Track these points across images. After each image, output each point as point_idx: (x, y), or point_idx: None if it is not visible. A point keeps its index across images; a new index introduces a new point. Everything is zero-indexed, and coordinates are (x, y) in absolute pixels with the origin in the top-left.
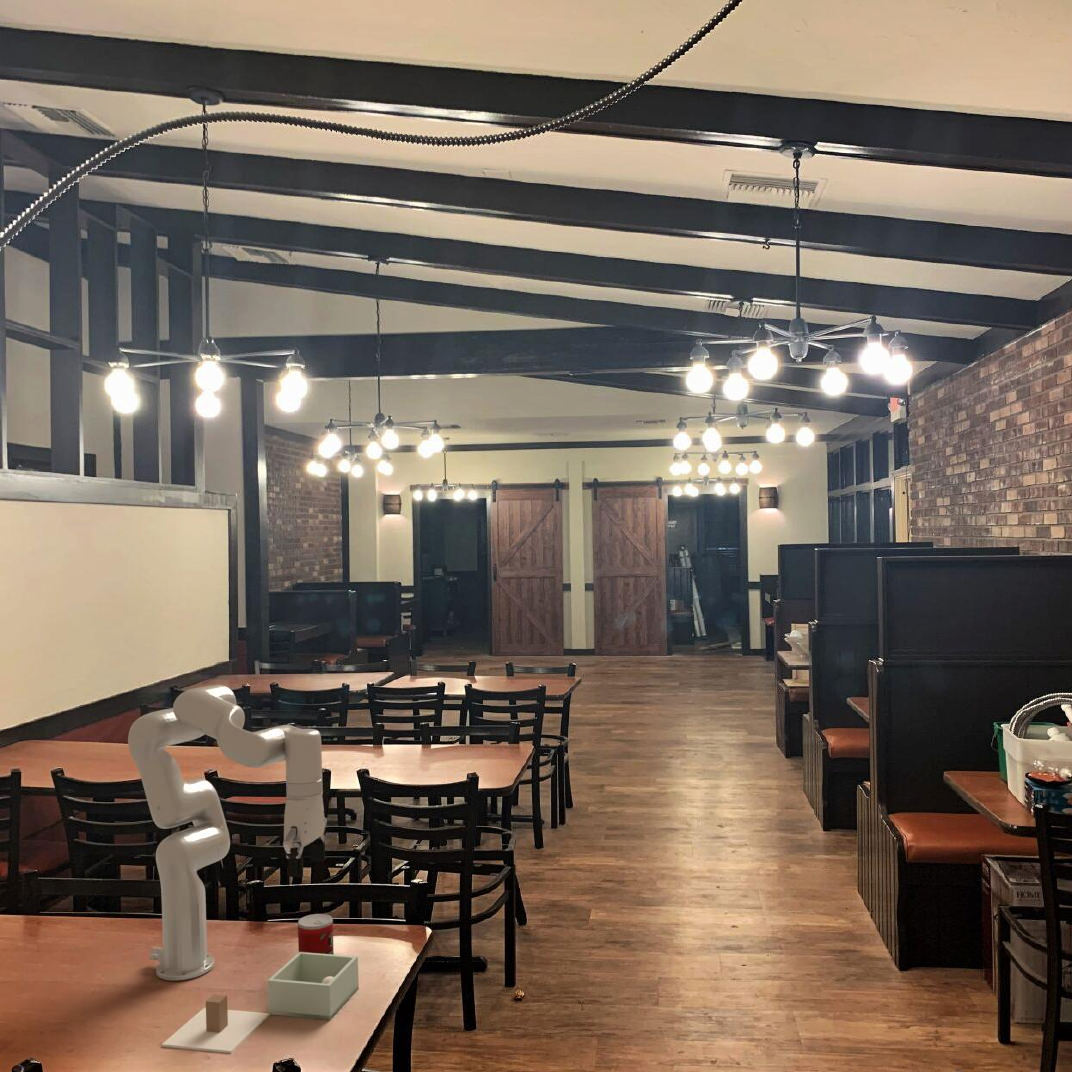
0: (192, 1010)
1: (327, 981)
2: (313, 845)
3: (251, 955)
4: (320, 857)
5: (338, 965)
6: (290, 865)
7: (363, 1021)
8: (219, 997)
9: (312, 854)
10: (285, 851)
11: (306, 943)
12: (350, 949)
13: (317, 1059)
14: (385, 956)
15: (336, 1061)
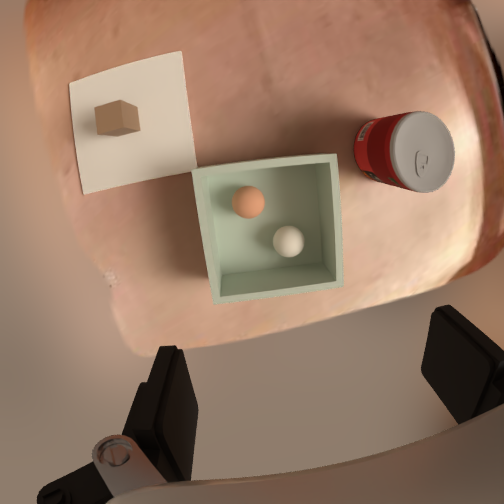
0: (173, 37)
1: (280, 247)
2: (479, 378)
3: (382, 18)
4: (433, 372)
5: (330, 244)
6: (131, 416)
7: (231, 325)
8: (113, 118)
9: (449, 340)
10: (41, 496)
11: (375, 148)
12: None
13: (122, 317)
14: (433, 245)
15: (130, 341)
